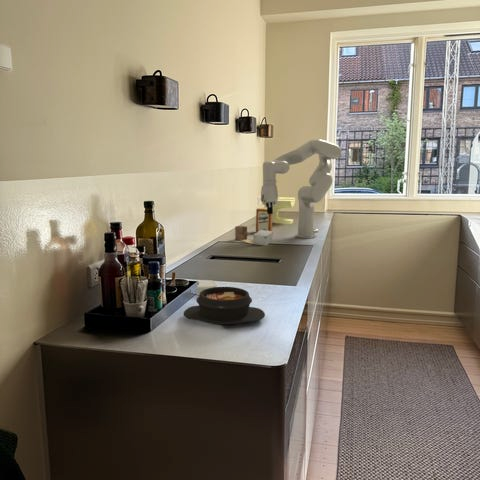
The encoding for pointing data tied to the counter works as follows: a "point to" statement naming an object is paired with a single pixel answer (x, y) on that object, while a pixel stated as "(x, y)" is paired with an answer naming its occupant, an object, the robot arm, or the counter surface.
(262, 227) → the baking soda box
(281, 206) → the pale yellow c-shaped piece
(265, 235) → the skincare box
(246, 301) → the casserole
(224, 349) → the counter surface
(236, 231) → the walnut block
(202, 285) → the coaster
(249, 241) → the brass plate
